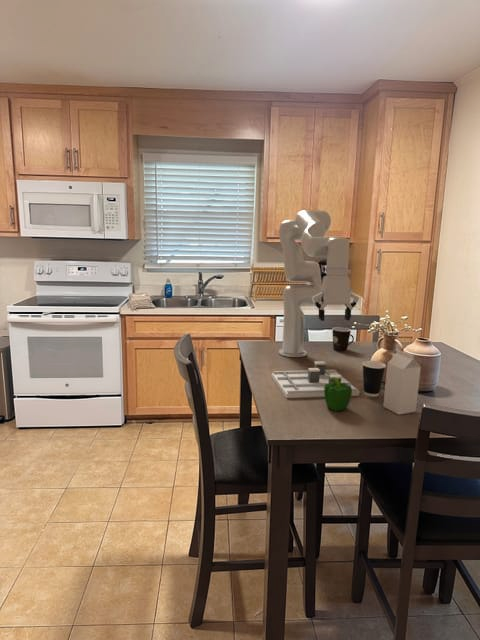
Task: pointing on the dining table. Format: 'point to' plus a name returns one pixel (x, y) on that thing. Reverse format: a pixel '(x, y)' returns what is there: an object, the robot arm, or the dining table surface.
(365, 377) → the dixie cup
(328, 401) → the bell pepper
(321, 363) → the block
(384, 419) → the dining table surface
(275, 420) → the dining table surface
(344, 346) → the coffee mug
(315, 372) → the block
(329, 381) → the breaker right
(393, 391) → the milk carton
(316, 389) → the board
